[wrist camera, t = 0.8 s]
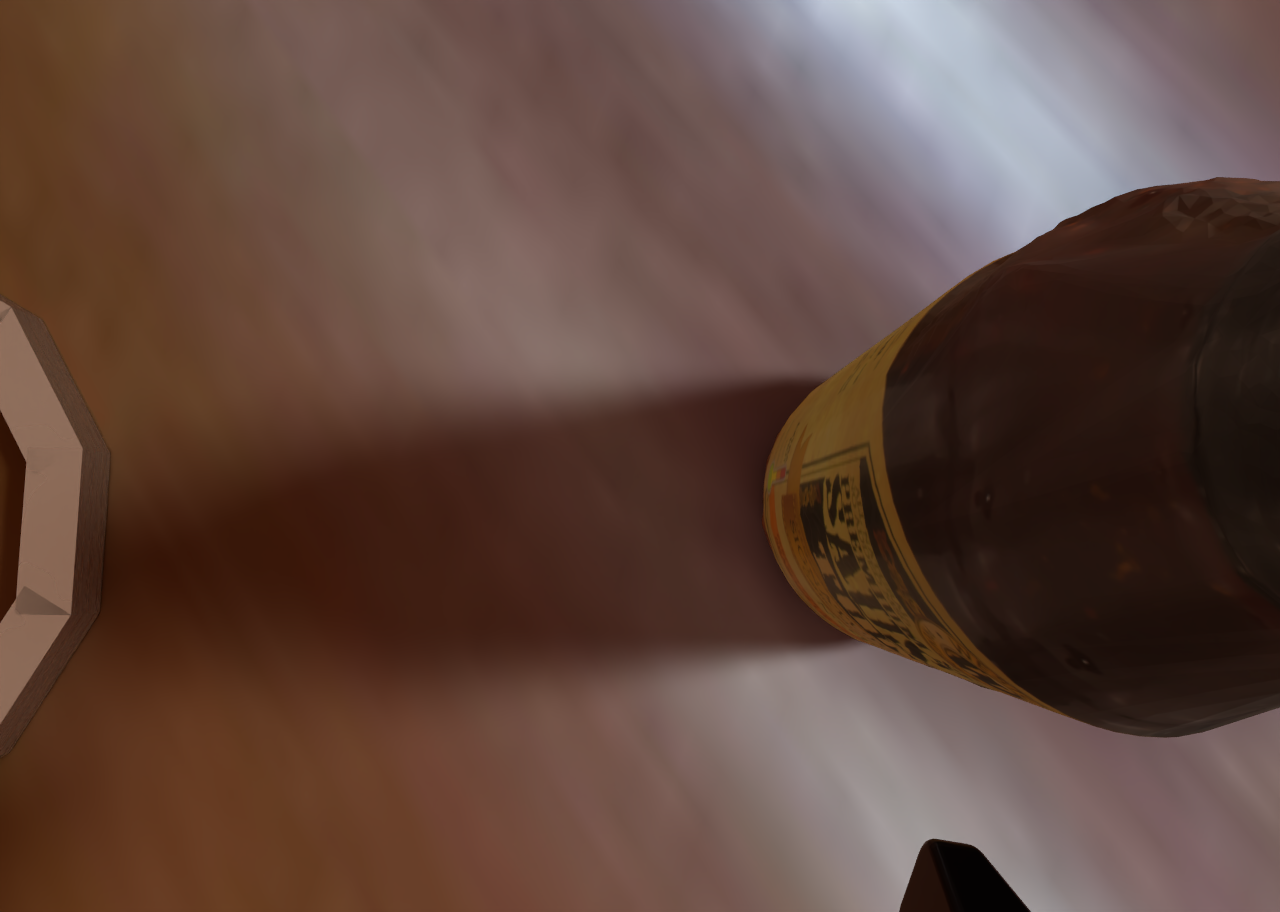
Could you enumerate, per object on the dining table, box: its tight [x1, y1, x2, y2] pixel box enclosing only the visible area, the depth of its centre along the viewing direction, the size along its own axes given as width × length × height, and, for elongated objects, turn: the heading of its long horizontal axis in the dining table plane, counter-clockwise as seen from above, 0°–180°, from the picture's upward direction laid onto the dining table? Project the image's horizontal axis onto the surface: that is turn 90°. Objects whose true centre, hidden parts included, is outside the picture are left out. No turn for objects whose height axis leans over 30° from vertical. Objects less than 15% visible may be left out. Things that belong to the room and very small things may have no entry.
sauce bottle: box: [762, 177, 1280, 738], centre depth 14 cm, size 6×6×20 cm
